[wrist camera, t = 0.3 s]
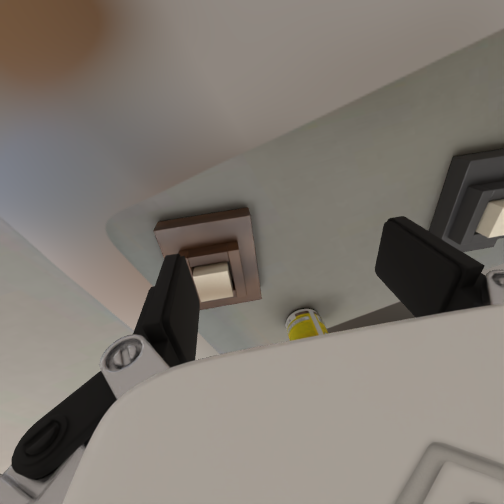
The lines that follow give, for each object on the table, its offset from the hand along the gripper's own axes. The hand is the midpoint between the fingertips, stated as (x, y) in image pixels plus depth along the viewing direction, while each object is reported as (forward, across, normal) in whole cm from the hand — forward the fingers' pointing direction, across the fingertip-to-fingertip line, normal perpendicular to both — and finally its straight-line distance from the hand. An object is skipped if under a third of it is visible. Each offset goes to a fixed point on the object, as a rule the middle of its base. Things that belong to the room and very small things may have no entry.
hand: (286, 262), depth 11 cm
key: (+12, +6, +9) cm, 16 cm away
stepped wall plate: (+16, -26, +7) cm, 32 cm away
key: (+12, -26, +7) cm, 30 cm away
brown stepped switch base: (+16, +6, +9) cm, 19 cm away
